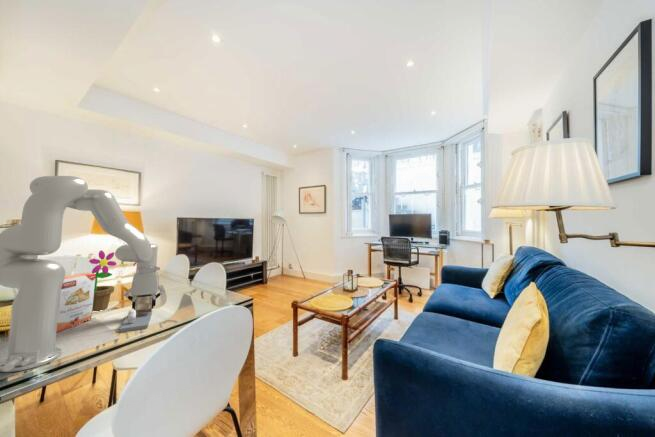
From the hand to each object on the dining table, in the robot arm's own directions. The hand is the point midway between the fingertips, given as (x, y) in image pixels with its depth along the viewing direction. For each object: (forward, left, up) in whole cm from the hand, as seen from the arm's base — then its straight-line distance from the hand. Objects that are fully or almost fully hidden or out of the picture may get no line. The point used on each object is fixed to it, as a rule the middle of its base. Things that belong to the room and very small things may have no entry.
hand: (143, 308), depth 112 cm
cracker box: (+2, +25, -4) cm, 25 cm away
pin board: (-5, +2, -4) cm, 7 cm away
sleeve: (0, 0, -1) cm, 1 cm away
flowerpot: (+22, +22, -4) cm, 31 cm away
